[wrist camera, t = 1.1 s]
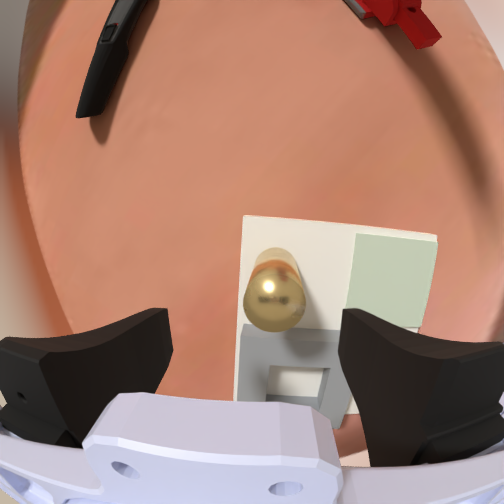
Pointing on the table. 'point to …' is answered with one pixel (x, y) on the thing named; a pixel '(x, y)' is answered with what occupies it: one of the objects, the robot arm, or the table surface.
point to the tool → (400, 18)
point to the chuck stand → (327, 305)
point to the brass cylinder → (274, 292)
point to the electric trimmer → (108, 57)
